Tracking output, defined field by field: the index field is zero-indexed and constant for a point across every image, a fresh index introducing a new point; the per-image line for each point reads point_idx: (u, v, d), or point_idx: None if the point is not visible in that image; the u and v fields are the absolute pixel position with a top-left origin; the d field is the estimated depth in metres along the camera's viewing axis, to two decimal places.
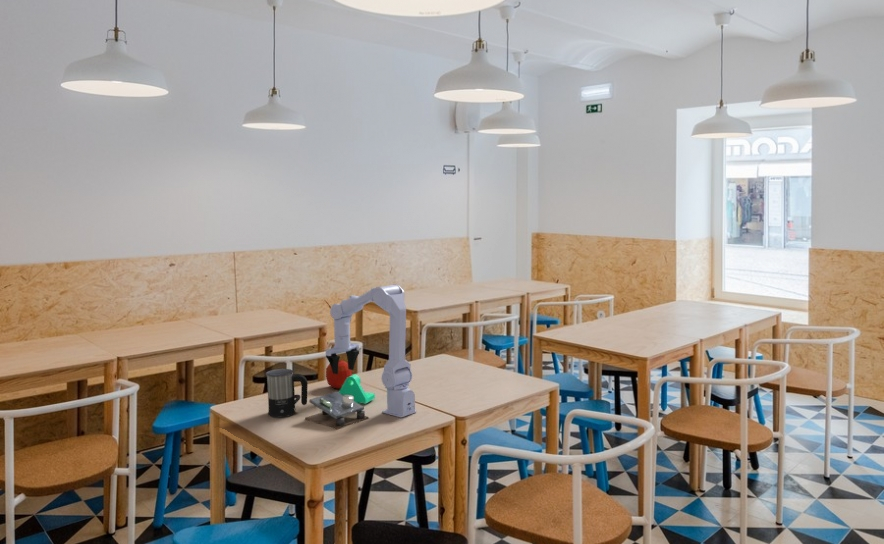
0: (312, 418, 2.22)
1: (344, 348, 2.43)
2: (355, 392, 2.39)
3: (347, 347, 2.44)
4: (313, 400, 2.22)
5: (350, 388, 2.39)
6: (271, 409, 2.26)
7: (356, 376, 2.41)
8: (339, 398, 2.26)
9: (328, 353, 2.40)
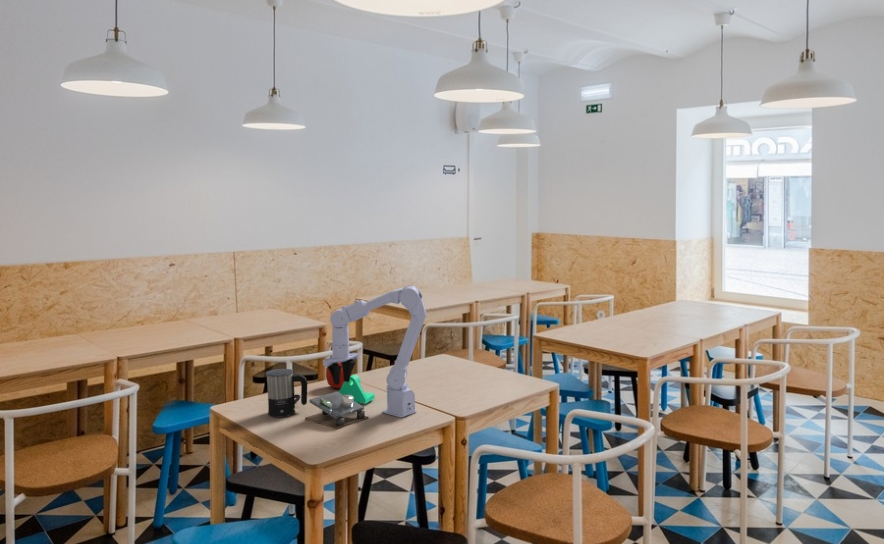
0: (312, 418, 2.22)
1: (343, 358, 2.26)
2: (354, 392, 2.39)
3: (346, 357, 2.27)
4: (313, 400, 2.22)
5: (350, 388, 2.39)
6: (271, 409, 2.26)
7: (356, 376, 2.40)
8: (339, 398, 2.26)
9: (325, 363, 2.23)
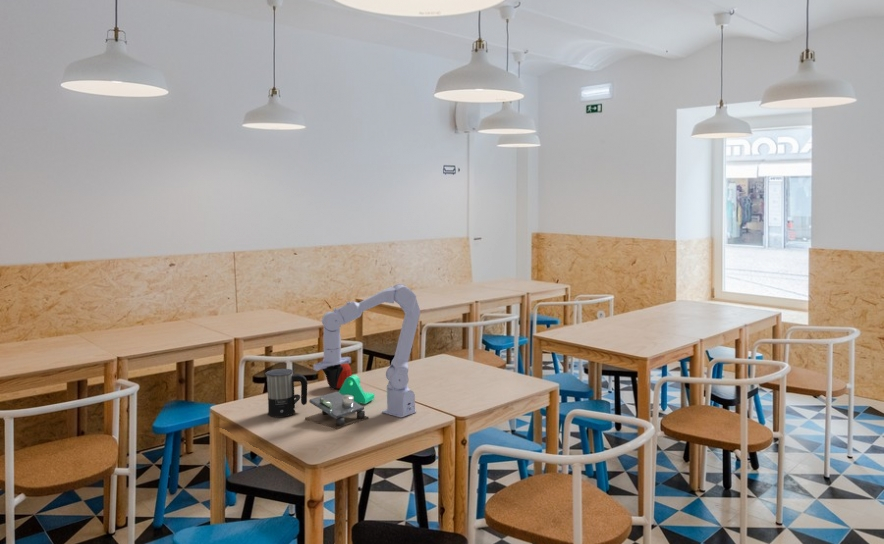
0: (312, 418, 2.22)
1: (334, 362, 2.20)
2: (354, 392, 2.38)
3: (337, 361, 2.20)
4: (313, 400, 2.22)
5: (350, 388, 2.39)
6: (271, 409, 2.26)
7: (356, 376, 2.40)
8: (339, 398, 2.26)
9: (316, 368, 2.17)
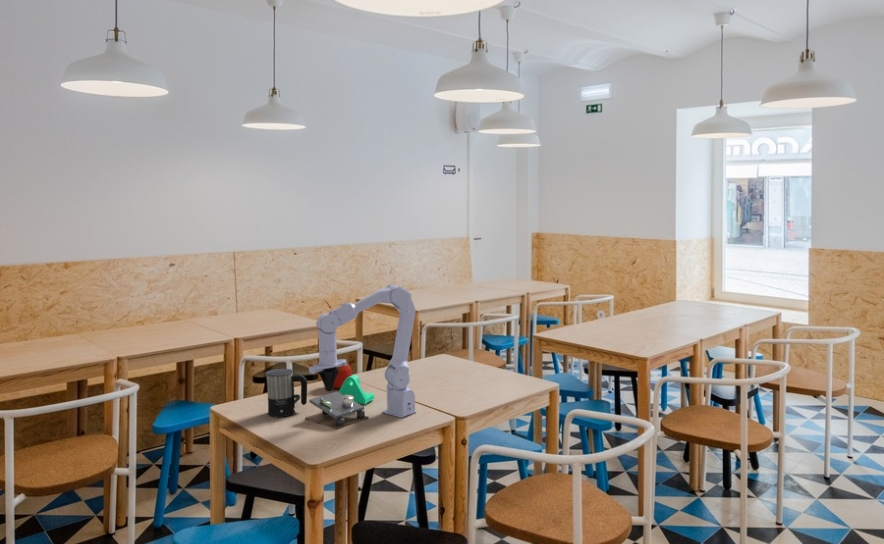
0: (312, 418, 2.22)
1: (330, 365, 2.16)
2: (354, 392, 2.38)
3: (333, 363, 2.17)
4: (313, 400, 2.22)
5: (349, 388, 2.39)
6: (271, 409, 2.26)
7: (355, 376, 2.40)
8: (339, 398, 2.26)
9: (312, 370, 2.13)
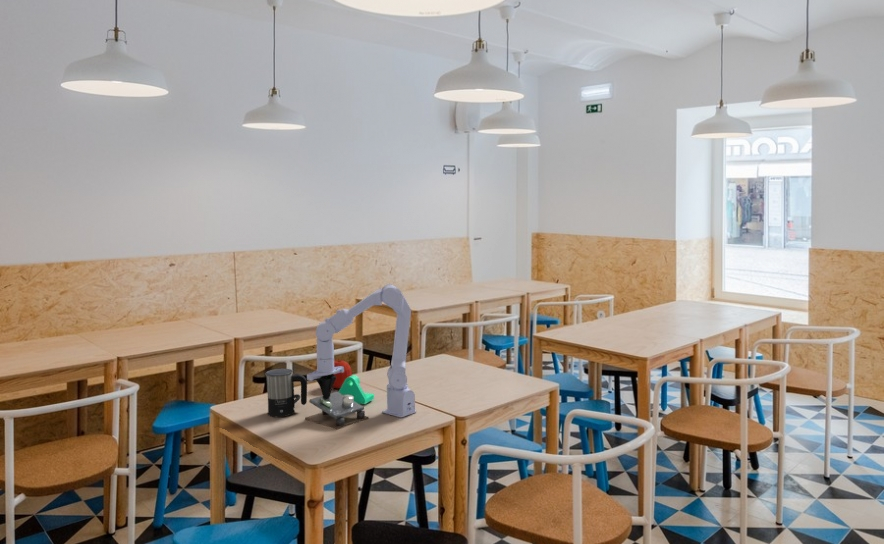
0: (312, 418, 2.22)
1: (327, 372, 2.22)
2: (354, 392, 2.38)
3: (330, 371, 2.23)
4: (313, 400, 2.22)
5: (349, 388, 2.39)
6: (271, 409, 2.26)
7: (355, 376, 2.40)
8: (339, 398, 2.26)
9: (309, 378, 2.19)
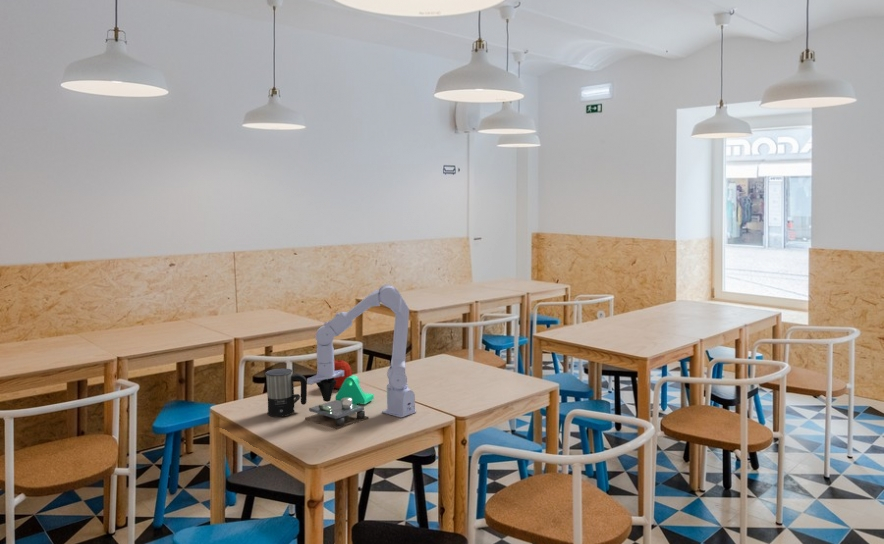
0: (312, 418, 2.22)
1: (327, 376, 2.22)
2: (353, 392, 2.38)
3: (331, 375, 2.23)
4: (313, 408, 2.23)
5: (349, 389, 2.39)
6: (271, 409, 2.26)
7: (355, 377, 2.40)
8: (339, 404, 2.27)
9: (310, 382, 2.19)
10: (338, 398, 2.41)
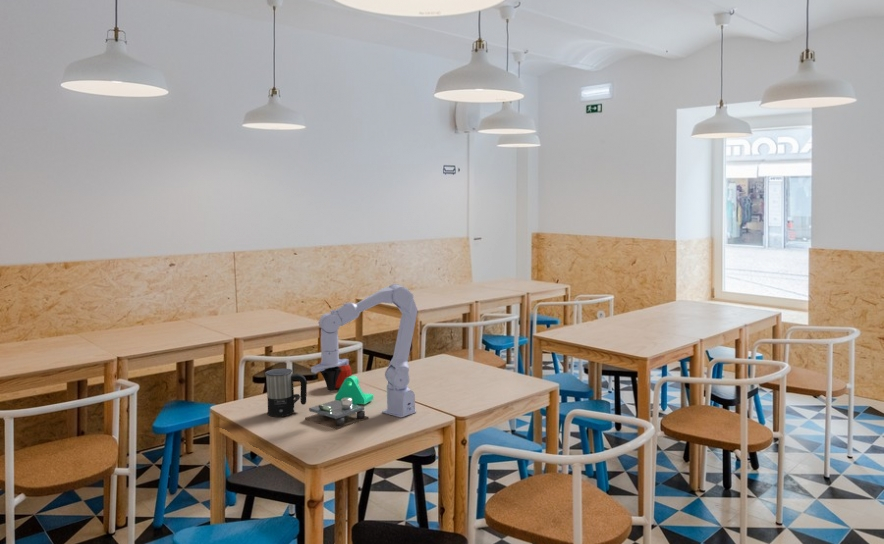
0: (312, 418, 2.22)
1: (332, 364, 2.17)
2: (353, 393, 2.38)
3: (335, 363, 2.18)
4: (313, 408, 2.23)
5: (348, 389, 2.38)
6: (271, 409, 2.27)
7: (354, 377, 2.39)
8: (339, 404, 2.27)
9: (314, 370, 2.14)
10: (338, 398, 2.40)
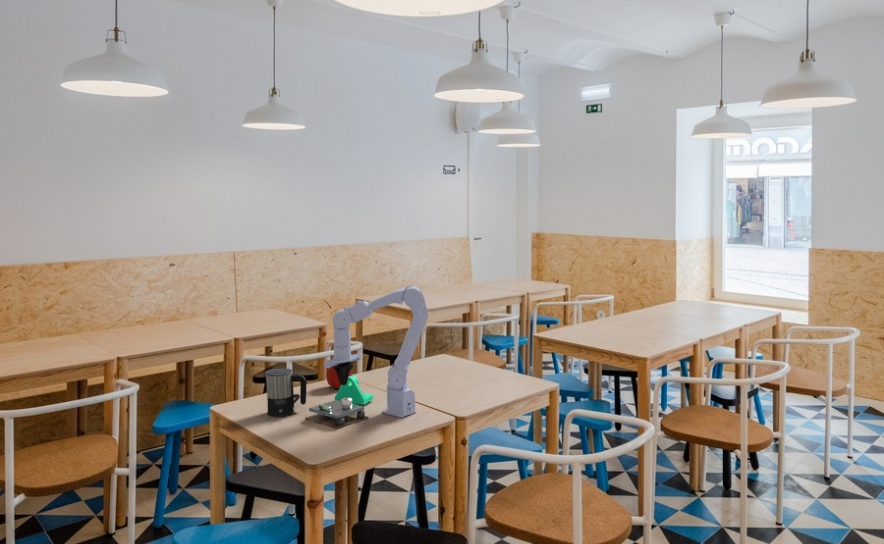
0: (312, 418, 2.22)
1: (344, 359, 2.24)
2: (353, 393, 2.37)
3: (347, 358, 2.24)
4: (313, 408, 2.23)
5: (348, 389, 2.38)
6: (270, 409, 2.27)
7: (354, 377, 2.39)
8: (339, 404, 2.27)
9: (327, 365, 2.21)
10: (337, 398, 2.40)
